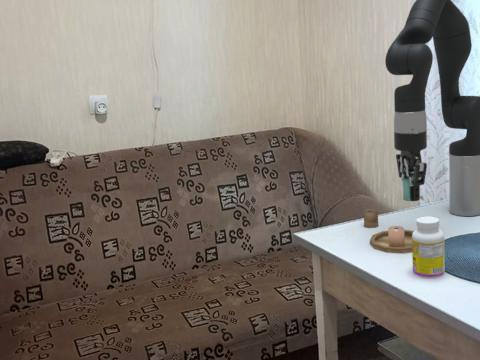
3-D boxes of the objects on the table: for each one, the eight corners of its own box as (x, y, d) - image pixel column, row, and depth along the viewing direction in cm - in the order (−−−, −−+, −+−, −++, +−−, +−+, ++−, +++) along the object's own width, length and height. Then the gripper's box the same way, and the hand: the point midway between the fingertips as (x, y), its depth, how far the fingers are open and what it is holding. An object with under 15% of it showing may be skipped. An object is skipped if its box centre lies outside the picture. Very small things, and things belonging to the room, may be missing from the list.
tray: (376, 235, 156) (376, 228, 155) (431, 238, 150) (431, 231, 149) (365, 254, 143) (364, 246, 143) (424, 258, 137) (424, 250, 137)
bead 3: (400, 198, 146) (400, 178, 145) (415, 196, 146) (415, 176, 145) (406, 202, 142) (406, 181, 141) (421, 200, 142) (421, 180, 141)
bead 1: (365, 226, 164) (365, 208, 163) (379, 226, 162) (378, 209, 161) (362, 230, 161) (362, 212, 159) (376, 231, 159) (376, 213, 158)
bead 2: (390, 244, 146) (389, 225, 144) (405, 245, 144) (405, 226, 143) (387, 250, 142) (386, 230, 141) (403, 251, 141) (402, 231, 140)
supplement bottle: (416, 268, 132) (415, 214, 129) (446, 271, 129) (446, 215, 126) (409, 279, 126) (408, 223, 124) (441, 283, 123) (441, 225, 120)
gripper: (384, 127, 147) (386, 193, 151) (406, 135, 133) (407, 207, 137) (413, 124, 147) (414, 190, 151) (438, 131, 134) (438, 204, 137)
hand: (411, 198), depth 144 cm, fingers closed on bead 3, 3 cm apart
